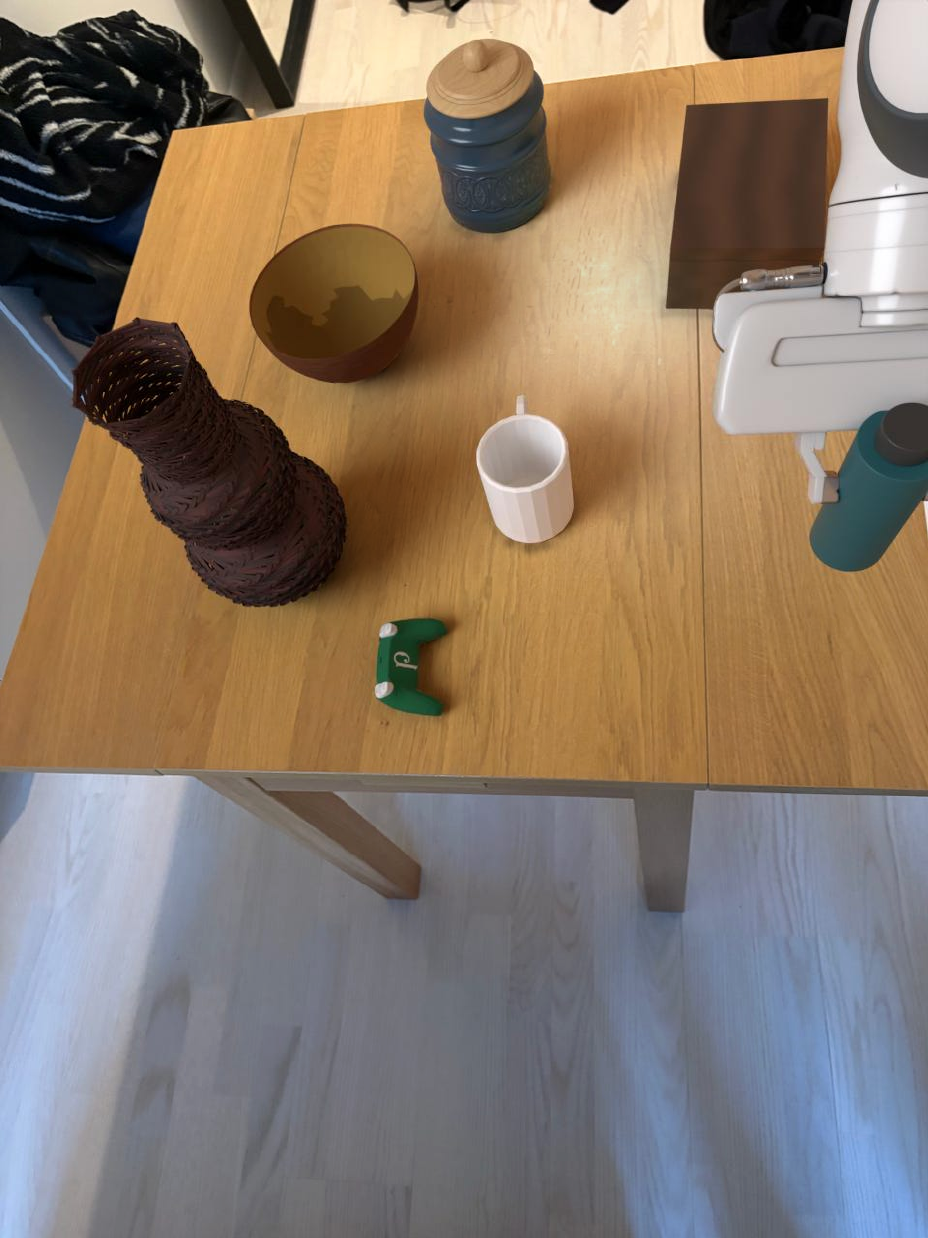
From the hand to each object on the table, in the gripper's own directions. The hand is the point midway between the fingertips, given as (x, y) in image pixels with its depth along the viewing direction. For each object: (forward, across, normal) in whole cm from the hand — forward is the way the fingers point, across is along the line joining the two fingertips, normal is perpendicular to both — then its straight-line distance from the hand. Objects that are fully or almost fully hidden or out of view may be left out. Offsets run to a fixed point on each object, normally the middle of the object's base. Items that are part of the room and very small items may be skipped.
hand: (877, 500), depth 49 cm
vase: (+11, -48, +20) cm, 53 cm away
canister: (-24, -30, +55) cm, 67 cm away
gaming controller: (+19, -34, +12) cm, 41 cm away
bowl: (-8, -44, +39) cm, 59 cm away
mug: (+5, -24, +26) cm, 36 cm away
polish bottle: (+4, 0, +5) cm, 7 cm away
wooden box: (-17, -3, +47) cm, 50 cm away
